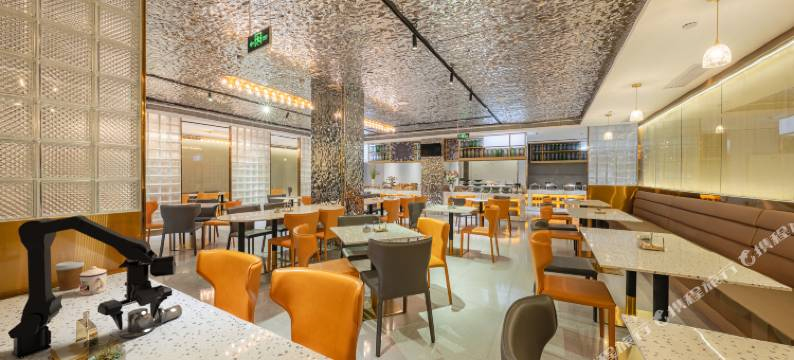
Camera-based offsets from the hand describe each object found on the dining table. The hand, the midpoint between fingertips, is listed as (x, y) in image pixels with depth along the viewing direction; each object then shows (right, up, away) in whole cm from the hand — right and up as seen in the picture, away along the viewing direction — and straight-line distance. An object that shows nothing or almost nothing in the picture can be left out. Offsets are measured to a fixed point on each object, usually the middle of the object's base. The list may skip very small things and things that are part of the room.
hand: (137, 324), depth 102 cm
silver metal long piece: (+2, -3, +4) cm, 5 cm away
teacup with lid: (-49, -2, +34) cm, 60 cm away
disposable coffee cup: (-66, -2, +39) cm, 76 cm away
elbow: (+2, -2, -1) cm, 2 cm away
